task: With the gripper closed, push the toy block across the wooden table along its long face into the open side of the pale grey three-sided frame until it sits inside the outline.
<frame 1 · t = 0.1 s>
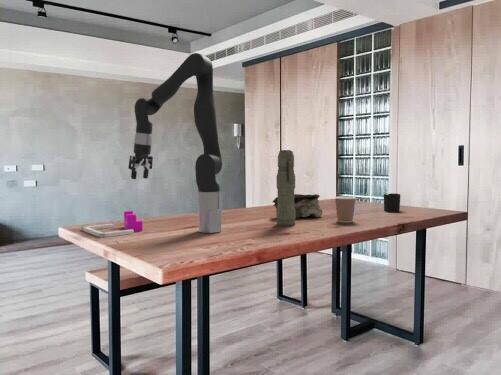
hand: (139, 178, 193), 22 cm above the table, tool pointing down, fingers open, 8 cm apart
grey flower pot: (345, 221, 208), on the table
pen holder: (391, 211, 248), on the table
hollow geode rock: (297, 217, 223), on the table
green stone statue: (285, 224, 198), on the table
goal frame: (109, 231, 181), on the table
toy block: (133, 229, 188), on the table
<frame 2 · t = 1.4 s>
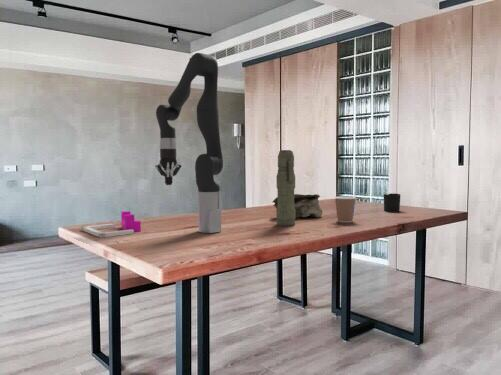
hand: (168, 184, 198), 19 cm above the table, tool pointing down, fingers closed
toy block: (130, 230, 187), on the table
everything else where it was.
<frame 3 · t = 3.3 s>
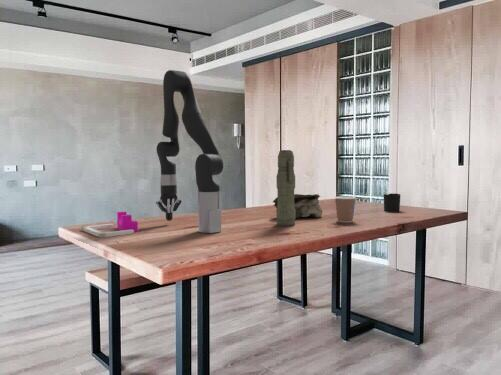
hand: (169, 220, 199), 2 cm above the table, tool pointing down, fingers closed
toy block: (127, 230, 186), on the table
everything else where it was.
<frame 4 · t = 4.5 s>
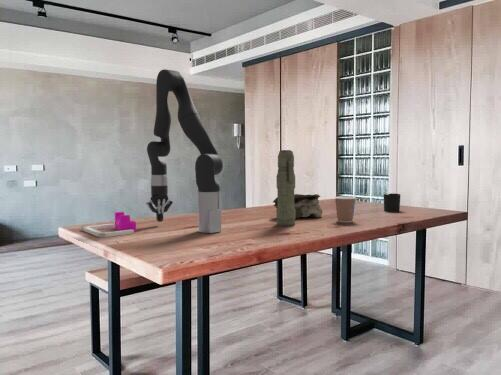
hand: (159, 221, 197), 2 cm above the table, tool pointing down, fingers closed
toy block: (125, 231, 185), on the table
everything else where it was.
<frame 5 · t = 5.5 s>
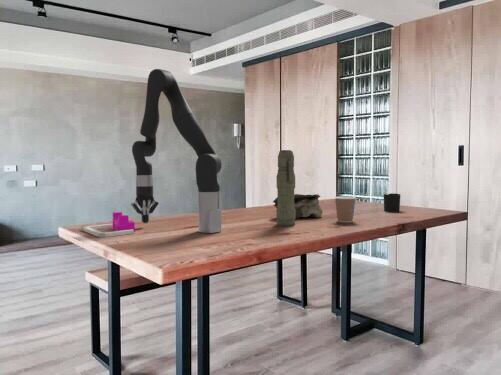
hand: (145, 222, 192), 2 cm above the table, tool pointing down, fingers closed
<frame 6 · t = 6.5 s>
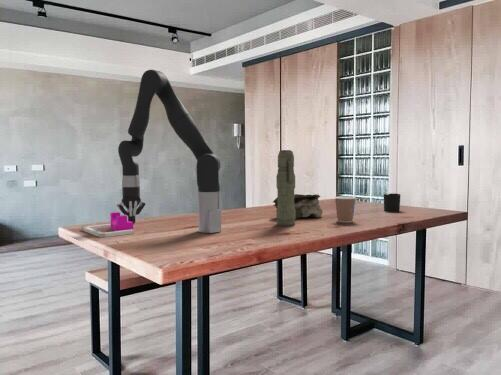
hand: (131, 224, 188), 2 cm above the table, tool pointing down, fingers closed
toy block: (121, 231, 184), on the table, touching gripper
everything else where it was.
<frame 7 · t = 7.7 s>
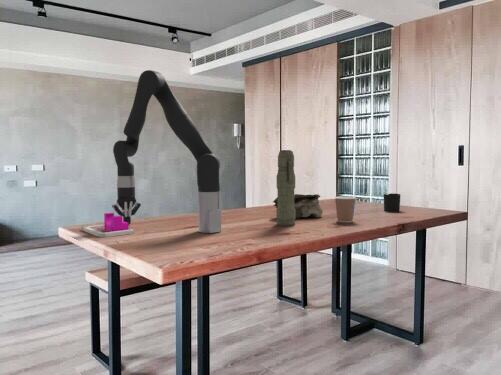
hand: (127, 225, 186), 2 cm above the table, tool pointing down, fingers closed
toy block: (116, 232, 182), on the table
everything else where it was.
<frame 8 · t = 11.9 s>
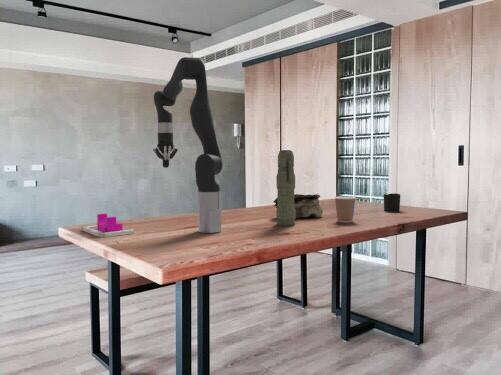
hand: (166, 167, 208), 27 cm above the table, tool pointing down, fingers closed
toy block: (109, 233, 180), on the table
everything else where it was.
at the end: toy block inside the target area on the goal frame (1.6 cm from its centre), point -0.5 cm above the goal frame's base; toy block tilted 0°; toy block moved 11.5 cm from its start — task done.
